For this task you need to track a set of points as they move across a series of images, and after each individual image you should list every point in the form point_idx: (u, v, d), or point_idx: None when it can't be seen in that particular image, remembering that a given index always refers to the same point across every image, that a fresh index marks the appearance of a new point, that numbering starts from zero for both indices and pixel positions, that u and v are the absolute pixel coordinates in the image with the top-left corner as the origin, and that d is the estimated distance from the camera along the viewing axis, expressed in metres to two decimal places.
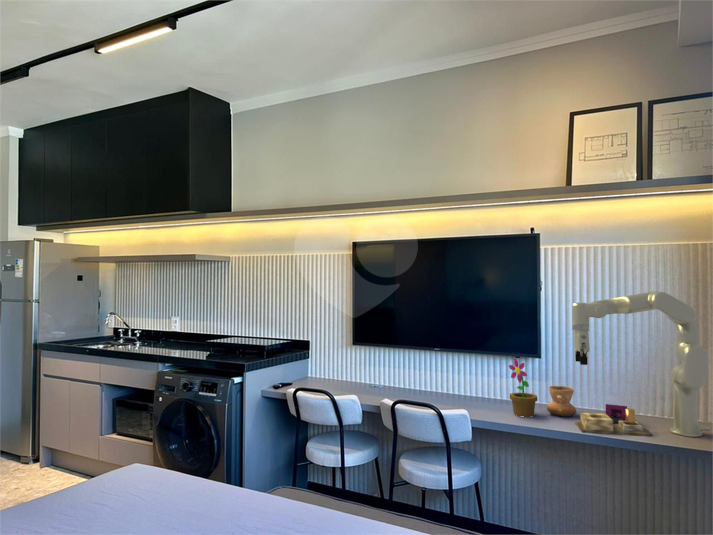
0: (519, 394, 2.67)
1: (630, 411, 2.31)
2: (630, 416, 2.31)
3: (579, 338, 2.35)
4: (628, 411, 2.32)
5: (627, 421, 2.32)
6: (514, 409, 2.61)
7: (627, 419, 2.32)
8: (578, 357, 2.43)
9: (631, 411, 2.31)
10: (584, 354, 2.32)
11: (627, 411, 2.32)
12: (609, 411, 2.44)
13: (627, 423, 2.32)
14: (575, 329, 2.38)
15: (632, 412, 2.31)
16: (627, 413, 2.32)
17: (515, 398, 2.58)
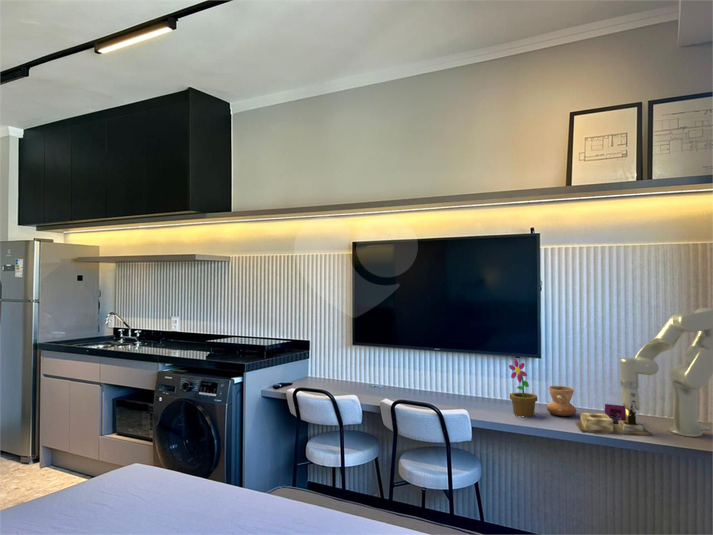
0: (519, 394, 2.67)
1: (630, 411, 2.31)
2: None
3: (629, 396, 2.29)
4: (628, 411, 2.32)
5: (627, 421, 2.32)
6: (514, 409, 2.61)
7: (627, 419, 2.32)
8: None
9: None
10: (633, 414, 2.29)
11: (627, 411, 2.32)
12: (608, 411, 2.44)
13: (627, 423, 2.32)
14: (624, 386, 2.32)
15: None
16: (627, 413, 2.32)
17: (515, 398, 2.58)
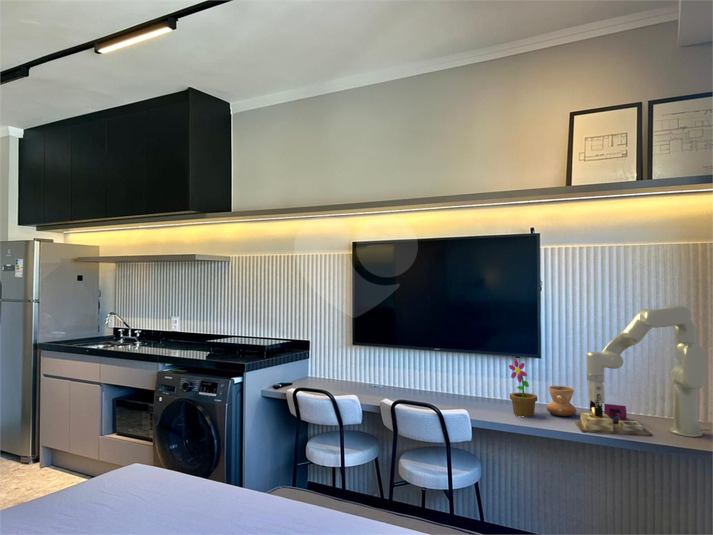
0: (519, 394, 2.67)
1: None
2: None
3: (594, 389, 2.32)
4: (594, 409, 2.35)
5: None
6: (514, 409, 2.61)
7: (593, 417, 2.35)
8: None
9: None
10: (599, 406, 2.29)
11: (593, 409, 2.35)
12: (608, 411, 2.44)
13: None
14: (590, 379, 2.35)
15: None
16: (593, 411, 2.35)
17: (515, 398, 2.58)
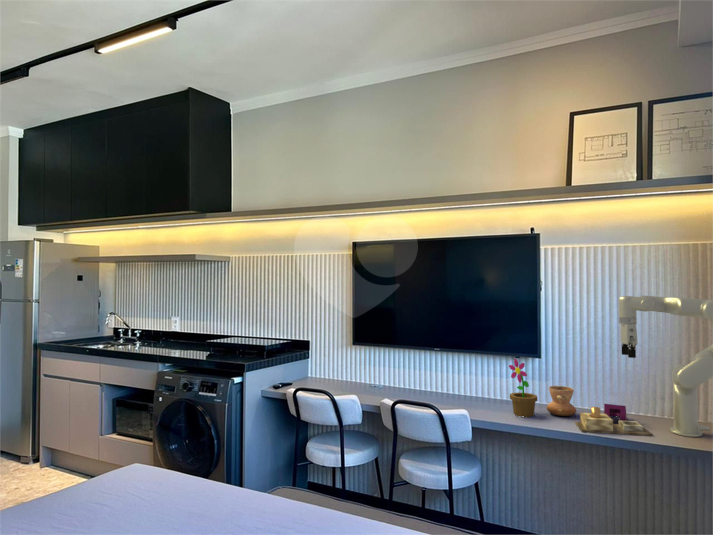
0: (519, 394, 2.67)
1: (596, 409, 2.35)
2: (596, 414, 2.34)
3: (627, 331, 2.37)
4: (594, 409, 2.35)
5: None
6: (514, 409, 2.61)
7: (593, 417, 2.35)
8: (624, 350, 2.45)
9: (597, 409, 2.34)
10: (632, 347, 2.34)
11: (593, 409, 2.35)
12: (608, 411, 2.45)
13: None
14: (622, 322, 2.39)
15: (598, 410, 2.34)
16: (593, 411, 2.35)
17: (515, 398, 2.58)
